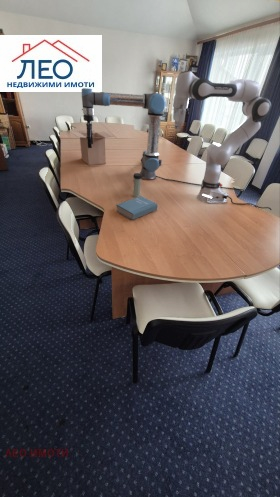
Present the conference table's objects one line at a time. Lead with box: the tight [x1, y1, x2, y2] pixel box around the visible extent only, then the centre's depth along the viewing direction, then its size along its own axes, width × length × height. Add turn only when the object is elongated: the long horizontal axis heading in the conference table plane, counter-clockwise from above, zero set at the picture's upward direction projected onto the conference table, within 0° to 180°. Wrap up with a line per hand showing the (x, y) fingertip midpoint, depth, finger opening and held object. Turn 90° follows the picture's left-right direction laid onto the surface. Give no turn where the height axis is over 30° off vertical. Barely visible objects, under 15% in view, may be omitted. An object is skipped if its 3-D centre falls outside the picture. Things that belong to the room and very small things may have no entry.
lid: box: [132, 172, 142, 180], centre depth 161 cm, size 6×6×2 cm
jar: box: [132, 178, 142, 198], centre depth 165 cm, size 5×5×16 cm
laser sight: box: [140, 156, 163, 166], centre depth 237 cm, size 10×22×10 cm, turn 78°
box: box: [70, 129, 114, 166], centre depth 229 cm, size 44×36×27 cm
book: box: [116, 195, 159, 221], centre depth 148 cm, size 23×16×5 cm
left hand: (90, 146), depth 173 cm, fingers open, 13 cm apart
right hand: (177, 129), depth 143 cm, fingers open, 8 cm apart
